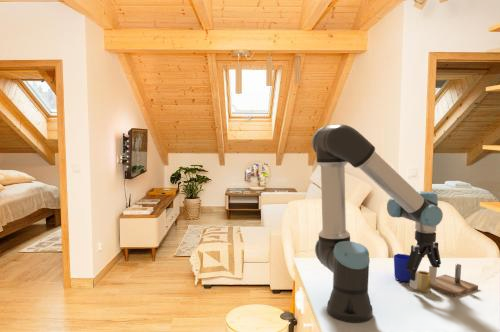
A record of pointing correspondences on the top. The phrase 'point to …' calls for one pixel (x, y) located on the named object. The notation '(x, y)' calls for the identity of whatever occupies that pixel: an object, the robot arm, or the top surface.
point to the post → (457, 274)
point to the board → (452, 286)
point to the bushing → (424, 282)
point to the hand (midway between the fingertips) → (423, 285)
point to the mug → (401, 267)
